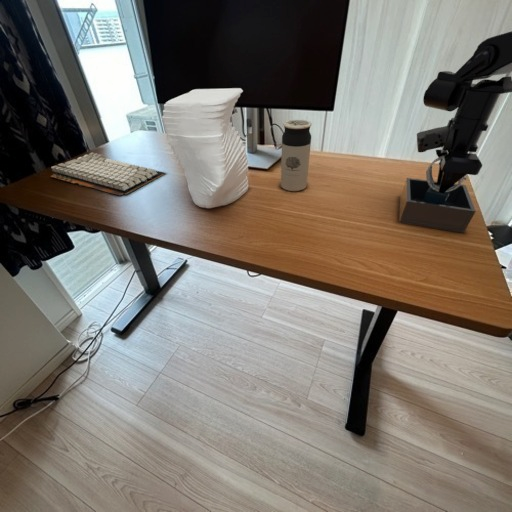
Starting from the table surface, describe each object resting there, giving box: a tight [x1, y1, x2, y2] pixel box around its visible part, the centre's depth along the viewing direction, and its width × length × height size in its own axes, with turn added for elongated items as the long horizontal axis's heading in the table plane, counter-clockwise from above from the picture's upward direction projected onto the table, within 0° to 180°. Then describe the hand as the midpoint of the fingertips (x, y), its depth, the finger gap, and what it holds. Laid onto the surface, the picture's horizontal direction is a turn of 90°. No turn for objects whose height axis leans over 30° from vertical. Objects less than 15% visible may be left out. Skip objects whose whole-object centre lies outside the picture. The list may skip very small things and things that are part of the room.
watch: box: [423, 156, 468, 205], centre depth 63 cm, size 6×8×11 cm
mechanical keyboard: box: [50, 151, 167, 196], centre depth 93 cm, size 38×19×3 cm, turn 63°
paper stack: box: [161, 87, 250, 209], centre depth 72 cm, size 21×27×26 cm
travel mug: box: [280, 119, 313, 192], centre depth 77 cm, size 8×8×18 cm
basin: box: [399, 177, 477, 234], centre depth 67 cm, size 14×14×6 cm
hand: (440, 188), depth 64 cm, fingers closed on watch, 4 cm apart
